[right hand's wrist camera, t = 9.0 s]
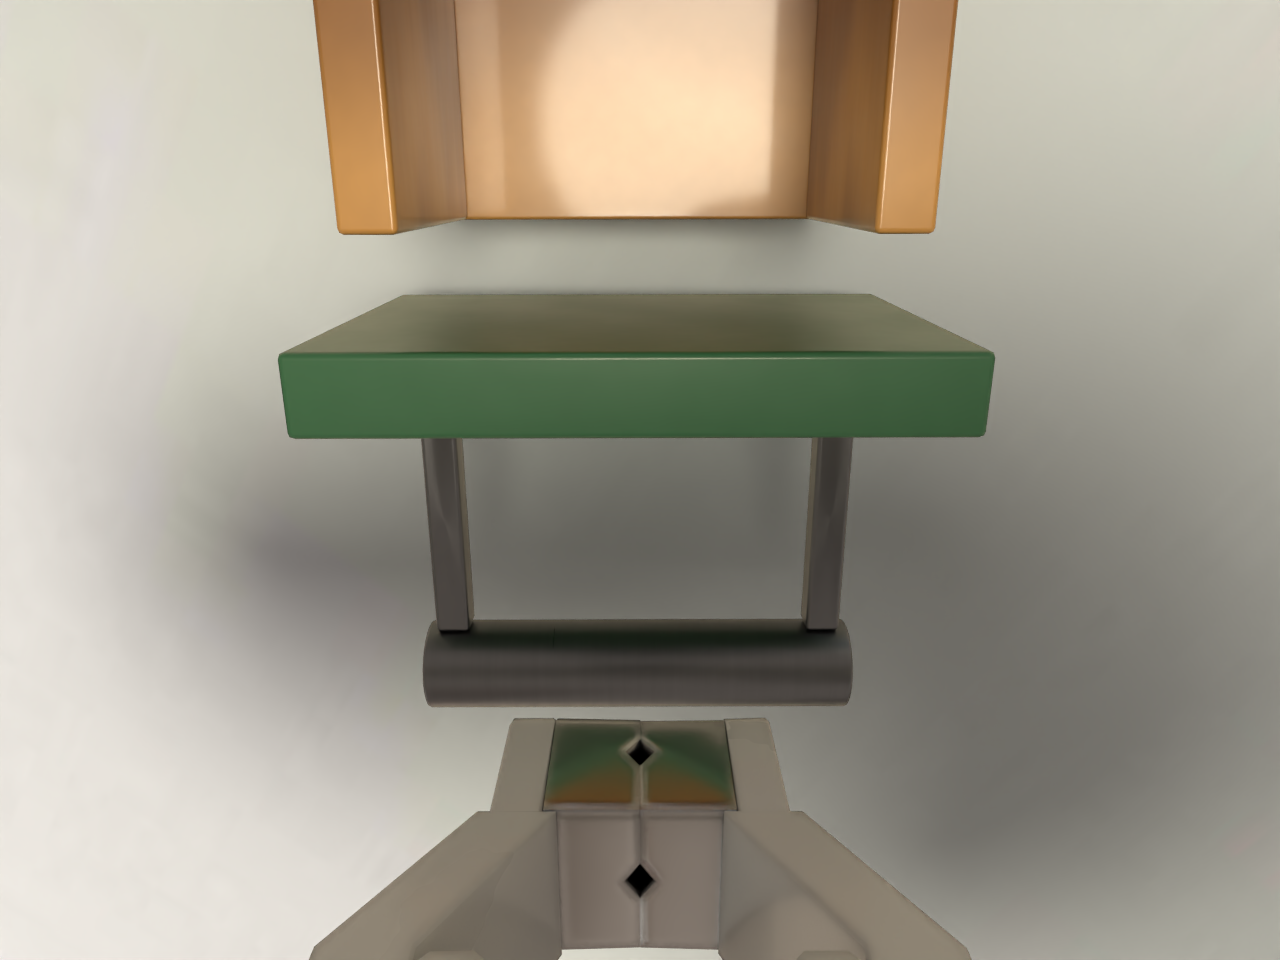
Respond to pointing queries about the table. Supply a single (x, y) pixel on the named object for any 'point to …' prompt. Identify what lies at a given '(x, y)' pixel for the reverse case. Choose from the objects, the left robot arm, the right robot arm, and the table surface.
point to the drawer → (636, 323)
